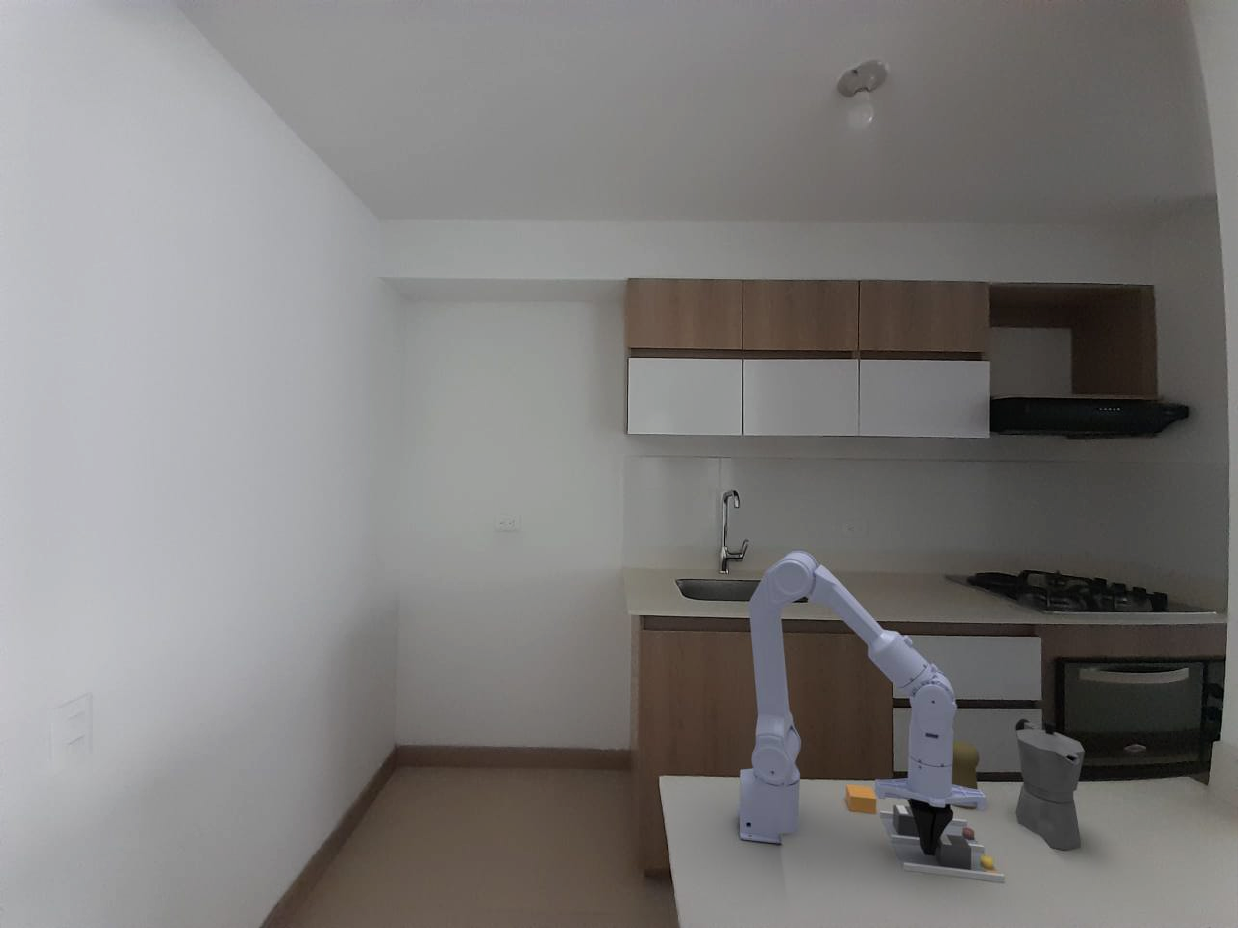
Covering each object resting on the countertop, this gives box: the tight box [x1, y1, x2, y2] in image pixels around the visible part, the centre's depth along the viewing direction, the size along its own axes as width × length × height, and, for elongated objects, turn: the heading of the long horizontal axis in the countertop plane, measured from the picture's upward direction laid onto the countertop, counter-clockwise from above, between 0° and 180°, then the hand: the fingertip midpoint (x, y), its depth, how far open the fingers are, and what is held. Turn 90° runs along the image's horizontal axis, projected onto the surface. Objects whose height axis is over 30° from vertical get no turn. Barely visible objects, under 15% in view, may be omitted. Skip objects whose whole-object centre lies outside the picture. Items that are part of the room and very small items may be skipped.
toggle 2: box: [935, 834, 971, 870], centre depth 91 cm, size 4×3×3 cm
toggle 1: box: [892, 804, 919, 837], centre depth 99 cm, size 4×3×3 cm
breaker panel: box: [879, 810, 1006, 884], centre depth 95 cm, size 13×14×2 cm
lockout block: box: [845, 783, 877, 815], centre depth 106 cm, size 4×4×4 cm
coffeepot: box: [1014, 718, 1086, 851], centre depth 103 cm, size 15×9×18 cm, turn 176°
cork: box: [951, 740, 980, 810], centre depth 108 cm, size 6×6×11 cm
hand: (927, 850), depth 92 cm, fingers closed
